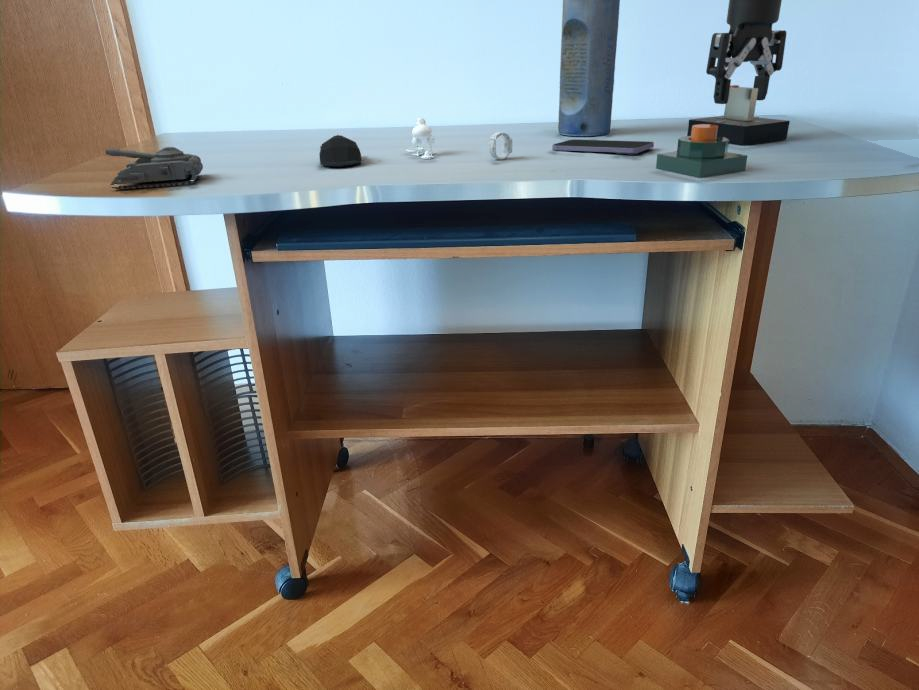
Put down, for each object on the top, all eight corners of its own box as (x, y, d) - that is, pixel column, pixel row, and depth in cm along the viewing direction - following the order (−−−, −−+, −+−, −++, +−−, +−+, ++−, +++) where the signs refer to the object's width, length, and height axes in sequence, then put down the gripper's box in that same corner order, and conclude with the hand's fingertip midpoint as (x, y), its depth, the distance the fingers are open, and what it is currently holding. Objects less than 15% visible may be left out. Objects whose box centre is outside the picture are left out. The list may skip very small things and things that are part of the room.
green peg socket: (745, 171, 84) (750, 139, 82) (699, 178, 81) (703, 145, 79) (699, 162, 90) (703, 132, 89) (655, 168, 87) (658, 138, 86)
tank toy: (107, 193, 86) (96, 153, 84) (122, 180, 94) (112, 143, 92) (200, 185, 89) (192, 146, 86) (207, 173, 97) (200, 137, 95)
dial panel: (786, 139, 105) (790, 119, 103) (742, 146, 101) (745, 125, 100) (729, 132, 115) (731, 113, 113) (686, 137, 111) (689, 118, 109)
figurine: (432, 148, 110) (431, 114, 108) (439, 158, 101) (437, 121, 99) (406, 150, 109) (403, 116, 107) (410, 160, 101) (407, 123, 98)
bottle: (547, 134, 120) (551, -52, 107) (581, 128, 126) (589, -49, 113) (587, 138, 114) (597, -59, 101) (621, 132, 119) (634, -56, 106)
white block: (753, 120, 105) (758, 86, 102) (747, 121, 104) (752, 86, 102) (729, 118, 109) (734, 85, 107) (723, 118, 108) (727, 85, 106)
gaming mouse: (357, 152, 110) (355, 127, 108) (363, 167, 97) (360, 139, 95) (320, 154, 109) (317, 130, 107) (320, 170, 96) (317, 142, 94)
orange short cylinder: (721, 142, 83) (723, 125, 82) (703, 144, 82) (705, 128, 81) (703, 139, 86) (705, 123, 85) (685, 141, 85) (686, 125, 84)
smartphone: (571, 139, 109) (656, 141, 101) (571, 146, 110) (655, 149, 101) (549, 145, 104) (637, 148, 95) (549, 152, 104) (637, 156, 96)
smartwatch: (493, 161, 97) (494, 133, 95) (485, 159, 98) (485, 132, 97) (512, 158, 99) (513, 131, 97) (504, 157, 100) (504, 130, 98)
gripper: (742, -12, 92) (725, 107, 100) (810, -13, 98) (789, 100, 105) (703, -9, 99) (690, 103, 106) (769, -10, 104) (752, 97, 111)
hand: (739, 101), depth 105 cm, fingers open, 8 cm apart
